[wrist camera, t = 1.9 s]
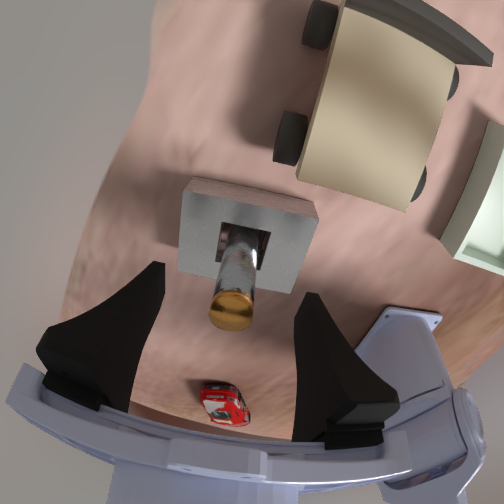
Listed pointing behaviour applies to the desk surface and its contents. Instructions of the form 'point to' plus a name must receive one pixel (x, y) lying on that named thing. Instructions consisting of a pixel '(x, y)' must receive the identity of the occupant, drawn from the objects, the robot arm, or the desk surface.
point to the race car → (225, 405)
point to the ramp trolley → (377, 97)
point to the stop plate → (249, 215)
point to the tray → (481, 209)
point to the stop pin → (236, 280)
